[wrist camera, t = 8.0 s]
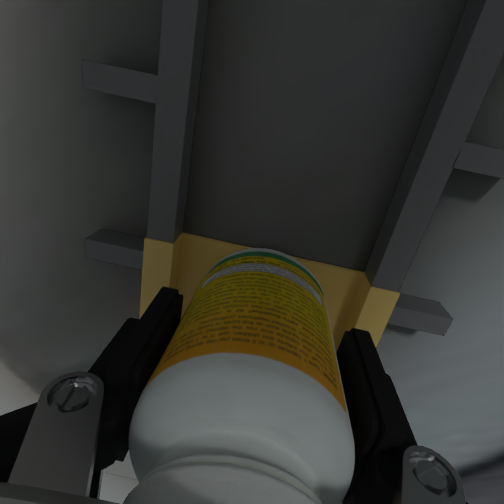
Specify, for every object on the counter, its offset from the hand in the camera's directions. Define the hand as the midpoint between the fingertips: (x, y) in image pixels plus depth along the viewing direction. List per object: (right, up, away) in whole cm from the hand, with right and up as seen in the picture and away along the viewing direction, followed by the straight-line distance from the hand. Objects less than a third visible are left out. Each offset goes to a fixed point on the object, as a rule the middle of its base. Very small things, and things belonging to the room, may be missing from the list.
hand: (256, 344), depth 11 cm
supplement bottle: (0, +1, +3) cm, 3 cm away
